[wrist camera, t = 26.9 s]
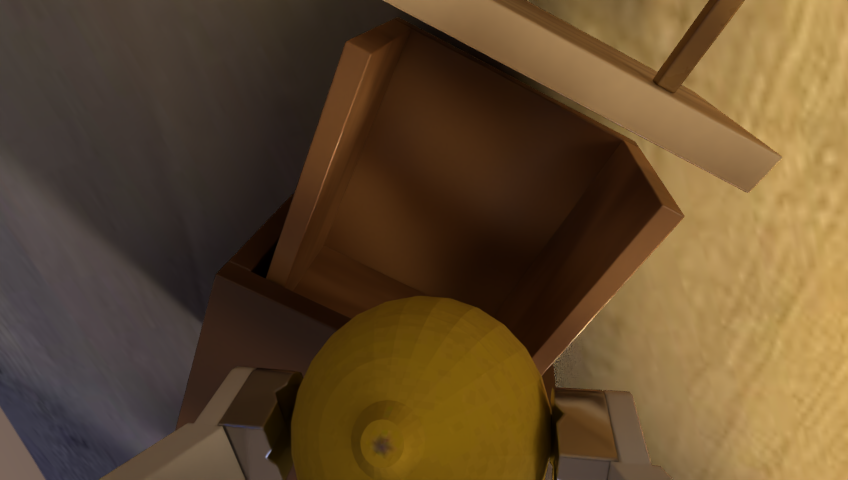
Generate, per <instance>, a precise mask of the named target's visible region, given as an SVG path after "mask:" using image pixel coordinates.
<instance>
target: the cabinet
mask: <svg viewBox="0 0 848 480" xmlns="http://www.w3.org/2000/svg"><path fill="white" fill-rule="evenodd" d="M294 193H295V192H294ZM294 193H293V194H292V195H291V196H290V197H289V198H288V199H287V201H286V202H285V203H284V204H283V205H282V206H281V207H280V208H279V209H278V210H277V211H276V212H275V213H274V214H273V215H272V216H271V217H270V218H269V219H268V220H267V221H266V222H265V224H264V225H263V226H262V227H261V228H260V229H259V230H258V231H257V232H256V233H255V234H254V235H253V236H252V237H251V238H250V239H249V240H248V241H247V242H246V243H245V244H244V245H243V247H242V248H241V249H240V250H239V251H238V252H237V253H236V254H235V255H234V256H233V257H232V258H231V259H230V260H229V262H227V263H226V264H225V265H224V266H223V267H222V268H221V269H220V270H219V271H218V273H217V274H216V275H215V279H214V283H213V286H212V290H211V294H210V298H209V302H208V306H207V310H206V314H205V317H204V321H203V325H202V329H201V333H200V337H199V341H198V344H197V348H196V352H195V356H194V360H193V364H192V368H191V372H190V375H189V379H188V383H187V387H186V391H185V395H184V399H183V403H182V406H181V410H180V414H179V418H178V422H177V426H176V430H177V429H179V428H181V427H182V426H184V425H185V424H187V423H194V422H195V421H196V420H197V418H198V417H199V415H200V414H201V412H202V411H203V410H204V408H205V407H206V405H207V404H208V402H209V401H210V400H211V398H212V397H213V395H214V394H215V393H216V391H217V390H218V388H219V387H220V385H221V384H222V383H223V381H224V380H225V378H226V377H227V375H228V374H229V373H230V371H231V370H232V369H234V368H236V367H237V366H243V367H254V368H269V369H279V370H290V371H298V372H302V375H303V378H304V376H305V374H306V372H307V370H308V368H309V366H310V364H311V361H312V360H313V358H314V357H315V356H316V355H317V353H318V352H319V351H320V349H321V348H322V347H323V345H324V344H325V343H326V342H327V340H328V339H329V338H330V336H332V335H333V334H334V333H335V332H336V331H338V330H339V329H340V328H341V327H343V326H344V325H345V324H346V323H348V322H349V321H350V320H351V319H352V318H349V317H347V316H345V315H343V314H341V313H339V312H336V311H334V310H332V309H330V308H328V307H326V306H324V305H321V304H319V303H317V302H315V301H313V300H311V299H308V298H306V297H304V296H302V295H300V294H298V293H296V292H293V291H291V290H289V289H287V288H285V287H283V286H280V285H278V284H276V283H274V282H272V281H270V280H268V279H266V276H267V273H268V270H269V267H270V264H271V261H272V258H273V255H274V252H275V249H276V246H277V243H278V240H279V237H280V234H281V232H282V229H283V226H284V223H285V220H286V217H287V214H288V211H289V208H290V205H291V202H292V199H293V196H294ZM542 379H543V383H544V386H545V390H546V393H547V397H548V401H549V404H550V408H551V391H552V387H555V377H554V366H553V363H552V365H551V366H550V367H549V368H548V369H547V370H546V371H545V372H544V373H543V375H542ZM551 414H552V412H551ZM176 430H175V431H176ZM287 480H297V476H296V472H295V467H294V464H293V467H292V469H291V471H290V473H289V476H288V478H287Z"/></svg>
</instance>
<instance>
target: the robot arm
mask: <svg viewBox="0 0 848 480" xmlns="http://www.w3.org/2000/svg"><path fill="white" fill-rule="evenodd" d="M303 379H304V378H303V375H302V372H298V371H290V370H279V369H269V368H254V367H243V366H237V367H236V368H234V369H232V370H231V371H230V373H229V374H228V375H227V377H226V378H225V380H224V381H223V383H222V384H221V385H220V387H219V388H218V390H217V391H216V393H215V394H214V395H213V397H212V398H211V400H210V401H209V402H208V404H207V405H206V407H205V408H204V410H203V411H202V412H201V414H200V415H199V417H198V418H197V420H196V421H195V422H194V423H187V424H185V425H184V426H182V427H181V428H179V429H177V430H176V431H174V432H173V433H171V434H170V435H168V436H166V437H165V438H163V439H162V440H160V441H159V442H157V443H155V444H154V445H152V446H151V447H149V448H148V449H146V450H144V451H143V452H141V453H140V454H138V455H137V456H135V457H133V458H132V459H130V460H129V461H127V462H126V463H124V464H122V465H121V466H119V467H118V468H116V469H115V470H113V471H111V472H110V473H108V474H107V475H105V476H103V477H102V478H100V479H99V480H287V478H288V476H289V473H290V471H291V469H292V467H293V464H294V463H293V459H292V454H291V421H292V416H293V411H294V407H295V402H296V397H297V393H298V389H299V387H300V385H301V383H302V381H303ZM551 412H552V414H551V452H550V463H551V464H552V466H553V468H552V480H673V479H672V477H671V476H670V475H669V474H668V473H667V472H666V471H665V470H664V469H663V468H662V467H661V466H655V465H652V464H651V460H650V457H649V453H648V449H647V446H646V442H645V439H644V435H643V431H642V428H641V424H640V420H639V417H638V413H637V409H636V406H635V402H634V398H633V396H632V394H631V393H630V392H627V391H609V390H603V391H602V390H594V389H576V388H557V387H552V391H551Z"/></svg>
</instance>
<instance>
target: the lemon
mask: <svg viewBox="0 0 848 480" xmlns="http://www.w3.org/2000/svg"><path fill="white" fill-rule="evenodd" d="M550 452H551V408H550V404H549V401H548V397H547V393H546V390H545V386H544V383H543V379H542V376H541V374H540V372H539V371H538V369H537V367H536V365H535V363H534V362H533V360H532V358H531V356H530V354H529V352H528V351H527V349H526V348H525V346H524V345H523V344H522V343H521V342H520V341H519V340H518V339H517V338H516V337H515V336H514V335H513V334H512V333H511V331H510V330H509V329H508V328H507V327H506V326H505V325H504V324H502V323H501V322H499V321H498V320H496V319H495V318H493V317H492V316H490V315H488V314H487V313H485V312H484V311H482V310H481V309H479V308H477V307H474V306H471V305H468V304H466V303H463V302H460V301H457V300H454V299H451V298H443V297H430V296H414V297H408V298H403V299H398V300H392V301H387V302H384V303H382V304H380V305H378V306H376V307H373V308H371V309H369V310H367V311H365V312H362V313H360V314H358V315H356V316H355V317H354V318H353V319H351V320H350V321H349V322H348V323H346V324H345V325H344V326H343V327H341V328H340V329H339V330H338V331H336V332H335V333H334V334H333V335H332V336H330V338H329V339H328V340H327V342H326V343H325V344H324V345H323V347H322V348H321V349H320V351H319V352H318V353H317V355H316V356H315V357H314V358H313V360H312V361H311V364H310V366H309V368H308V370H307V372H306V374H305V376H304V379H303V381H302V383H301V385H300V387H299V389H298V393H297V397H296V402H295V407H294V411H293V416H292V421H291V454H292V459H293V463H294V467H295V472H296V476H297V480H545V475H546V471H547V467H548V462H549V458H550Z"/></svg>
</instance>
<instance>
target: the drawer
mask: <svg viewBox="0 0 848 480" xmlns="http://www.w3.org/2000/svg"><path fill="white" fill-rule="evenodd" d="M383 1H385V2H387V3H389V4H391V5H392V6H394V7H396V8H398V9H400V10H402V11H404V12H406V13H408V14H409V15H411V16H413V17H415V18H417V19H419V20H421V21H423V22H425V23H426V24H428V25H430V26H432V27H434V28H436V29H438V30H440V31H442V32H444V33H445V34H447V35H449V36H451V37H453V38H455V39H457V40H459V41H461V42H462V43H464V44H466V45H468V46H470V47H472V48H474V49H476V50H478V51H480V52H481V53H483V54H485V55H487V56H489V57H491V58H493V59H495V60H497V61H498V62H500V63H502V64H504V65H506V66H508V67H510V68H512V69H514V70H515V71H517V72H519V73H521V74H523V75H525V76H527V77H529V78H531V79H533V80H534V81H536V82H538V83H540V84H542V85H544V86H546V87H548V88H550V89H551V90H553V91H555V92H557V93H559V94H561V95H563V96H565V97H567V98H569V99H570V100H572V101H574V102H576V103H578V104H580V105H582V106H584V107H586V108H587V109H589V110H591V111H593V112H595V113H597V114H599V115H601V116H603V117H604V118H606V119H608V120H610V121H612V122H614V123H616V124H618V125H620V126H622V127H623V128H625V129H627V130H629V131H631V132H633V133H635V134H637V135H639V136H640V137H642V138H644V139H646V140H648V141H650V142H652V143H654V144H656V145H658V146H659V147H661V148H663V149H665V150H667V151H669V152H671V153H673V154H675V155H676V156H678V157H680V158H682V159H684V160H686V161H688V162H690V163H692V164H693V165H695V166H697V167H699V168H701V169H703V170H705V171H707V172H709V173H711V174H712V175H714V176H716V177H718V178H720V179H722V180H724V181H726V182H728V183H729V184H731V185H733V186H735V187H737V188H739V189H741V190H743V191H745V192H747V193H749V192H750V191H751V190H752V189H753V188H754V187H755V186H756V185H757V184H758V183H759V182H760V181H761V180H762V179H763V178H764V177H765V175H766V174H767V173H768V172H769V171H770V170H771V169H772V168H773V167H774V166H775V165H776V164H777V163H778V162H779V161H780V160H781V159H782V156H781V155H779V154H778V153H777V152H775V151H774V150H772V149H771V148H770V147H768V146H767V145H766V144H764V143H763V142H762V141H760V140H759V139H757V138H756V137H755V136H753V135H752V134H751V133H749V132H748V131H747V130H745V129H744V128H742V127H741V126H740V125H738V124H737V123H736V122H734V121H733V120H732V119H730V118H729V117H728V116H726V115H725V114H723V113H722V112H721V111H719V110H718V109H717V108H715V107H714V106H713V105H711V104H710V103H708V102H707V101H706V100H704V99H703V98H702V97H700V96H699V95H698V94H696V93H695V92H693V91H692V90H690V89H688V88H686V87H684V86H682V85H681V84H682V83H683V82H684V80H685V79H686V78H687V76H688V75H689V74H690V72H691V71H692V70H693V69H694V67H695V66H696V65H697V63H698V62H699V61H700V59H701V58H702V57H703V55H704V54H705V53H706V51H707V50H708V49H709V47H710V46H711V45H712V43H713V42H714V41H715V39H716V38H717V37H718V35H719V34H720V33H721V31H722V30H723V29H724V27H725V26H726V25H727V23H728V22H729V21H730V19H731V18H732V17H733V15H734V14H735V13H736V12H737V10H738V9H739V8H740V6H741V5H742V4H743V2H744V1H745V0H709V1H708V3H707V4H706V6H705V7H704V8H703V10H702V11H701V12H700V14H699V15H698V17H697V18H696V19H695V21H694V22H693V24H692V25H691V26H690V28H689V29H688V31H687V32H686V33H685V35H684V36H683V38H682V39H681V40H680V42H679V43H678V45H677V46H676V47H675V49H674V50H673V52H672V53H671V54H670V56H669V57H668V59H667V60H666V61H665V63H664V64H663V66H662V67H661V68H660V70H659V71H658V72H657V71H655V70H653V69H651V68H649V67H648V66H646V65H644V64H642V63H640V62H638V61H636V60H635V59H633V58H631V57H629V56H627V55H625V54H624V53H622V52H620V51H618V50H616V49H614V48H613V47H611V46H609V45H607V44H605V43H603V42H601V41H600V40H598V39H596V38H594V37H592V36H590V35H589V34H587V33H585V32H583V31H581V30H579V29H578V28H576V27H574V26H572V25H570V24H568V23H566V22H565V21H563V20H561V19H559V18H557V17H555V16H554V15H552V14H550V13H548V12H546V11H544V10H543V9H541V8H539V7H537V6H535V5H533V4H532V3H530V2H528V1H526V0H383ZM683 218H684V214H683V213H682V211H681V210H680V208H679V207H678V205H677V204H676V202H675V201H674V199H673V198H672V196H671V195H670V193H669V192H668V190H667V189H666V187H665V186H664V184H663V183H662V181H661V180H660V178H659V177H658V175H657V174H656V172H655V171H654V169H653V168H652V166H651V165H650V163H649V162H648V160H647V159H646V157H645V156H644V154H643V153H642V151H641V150H640V148H639V147H638V145H637V144H636V142H635V141H633V140H631V139H629V138H627V137H625V136H624V135H622V134H620V133H618V132H616V131H614V130H612V129H610V128H608V127H607V126H605V125H603V124H601V123H599V122H597V121H595V120H593V119H591V118H589V117H588V116H586V115H584V114H582V113H580V112H578V111H576V110H574V109H572V108H570V107H569V106H567V105H565V104H563V103H561V102H559V101H557V100H555V99H553V98H551V97H550V96H548V95H546V94H544V93H542V92H540V91H538V90H536V89H534V88H532V87H531V86H529V85H527V84H525V83H523V82H521V81H519V80H517V79H515V78H513V77H512V76H510V75H508V74H506V73H504V72H502V71H500V70H498V69H496V68H494V67H493V66H491V65H489V64H487V63H485V62H483V61H481V60H479V59H477V58H475V57H474V56H472V55H470V54H468V53H466V52H464V51H462V50H460V49H458V48H456V47H455V46H453V45H451V44H449V43H447V42H445V41H443V40H441V39H439V38H437V37H436V36H434V35H432V34H430V33H428V32H426V31H424V30H422V29H420V28H418V27H417V26H415V25H413V24H411V23H409V22H407V21H405V20H403V19H401V18H399V17H397V18H395V19H392V20H390V21H388V22H386V23H384V24H382V25H380V26H377V27H375V28H373V29H371V30H369V31H367V32H365V33H363V34H361V35H359V36H356V37H354V38H352V39H350V40H348V41H346V42H345V45H344V48H343V51H342V54H341V57H340V60H339V63H338V66H337V69H336V71H335V74H334V77H333V80H332V83H331V86H330V89H329V92H328V95H327V98H326V101H325V104H324V107H323V110H322V113H321V116H320V119H319V122H318V125H317V128H316V131H315V134H314V137H313V140H312V143H311V146H310V149H309V152H308V154H307V157H306V160H305V163H304V166H303V169H302V172H301V175H300V178H299V181H298V184H297V187H296V190H295V193H294V196H293V199H292V202H291V205H290V208H289V211H288V214H287V217H286V220H285V223H284V226H283V229H282V232H281V234H280V237H279V240H278V243H277V246H276V249H275V252H274V255H273V258H272V261H271V264H270V267H269V270H268V273H267V276H266V279H268V280H270V281H272V282H274V283H276V284H278V285H280V286H283V287H285V288H287V289H289V290H291V291H293V292H296V293H298V294H300V295H302V296H304V297H306V298H308V299H311V300H313V301H315V302H317V303H319V304H321V305H324V306H326V307H328V308H330V309H332V310H334V311H336V312H339V313H341V314H343V315H345V316H347V317H349V318H352V319H353V318H354V317H355V316H356V315H358V314H360V313H362V312H365V311H367V310H369V309H371V308H373V307H376V306H378V305H380V304H382V303H384V302H387V301H392V300H398V299H403V298H408V297H414V296H430V297H443V298H451V299H454V300H457V301H460V302H463V303H466V304H468V305H471V306H474V307H477V308H479V309H481V310H482V311H484V312H485V313H487V314H488V315H490V316H492V317H493V318H495V319H496V320H498V321H499V322H501V323H502V324H504V325H505V326H506V327H507V328H508V329H509V330H510V331H511V333H512V334H513V335H514V336H515V337H516V338H517V339H518V340H519V341H520V342H521V343H522V344H523V345H524V346H525V348H526V349H527V351H528V352H529V354H530V356H531V358H532V360H533V362H534V363H535V365H536V367H537V369H538V371H539V372H540V374H541V376H542V375H543V373H544V372H545V371H546V370H547V369H548V368H549V367H550V366H551V365H552V363H553V362H554V361H555V360H556V359H557V358H558V357H559V356H560V355H561V353H562V352H563V351H564V350H565V349H566V348H567V347H568V346H569V345H570V343H571V342H572V341H573V340H574V339H575V338H576V337H577V336H578V335H579V333H580V332H581V331H582V330H583V329H584V328H585V327H586V326H587V325H588V323H589V322H590V321H591V320H592V319H593V318H594V317H595V316H596V315H597V313H598V312H599V311H600V310H601V309H602V308H603V307H604V306H605V305H606V303H607V302H608V301H609V300H610V299H611V298H612V297H613V296H614V295H615V293H616V292H617V291H618V290H619V289H620V288H621V287H622V286H623V285H624V283H625V282H626V281H627V280H628V279H629V278H630V277H631V276H632V275H633V273H634V272H635V271H636V270H637V269H638V268H639V267H640V266H641V265H642V263H643V262H644V261H645V260H646V259H647V258H648V257H649V256H650V255H651V253H652V252H653V251H654V250H655V249H656V248H657V247H658V246H659V245H660V243H661V242H662V241H663V240H664V239H665V238H666V237H667V236H668V235H669V233H670V232H671V231H672V230H673V229H674V228H675V227H676V226H677V225H678V223H679V222H680V221H681V220H682V219H683Z"/></svg>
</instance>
